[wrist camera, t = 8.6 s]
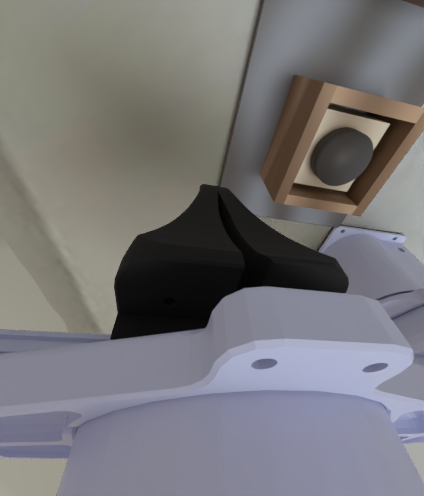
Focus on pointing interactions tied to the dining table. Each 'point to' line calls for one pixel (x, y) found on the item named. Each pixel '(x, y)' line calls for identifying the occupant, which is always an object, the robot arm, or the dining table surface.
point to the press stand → (324, 100)
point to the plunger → (340, 149)
